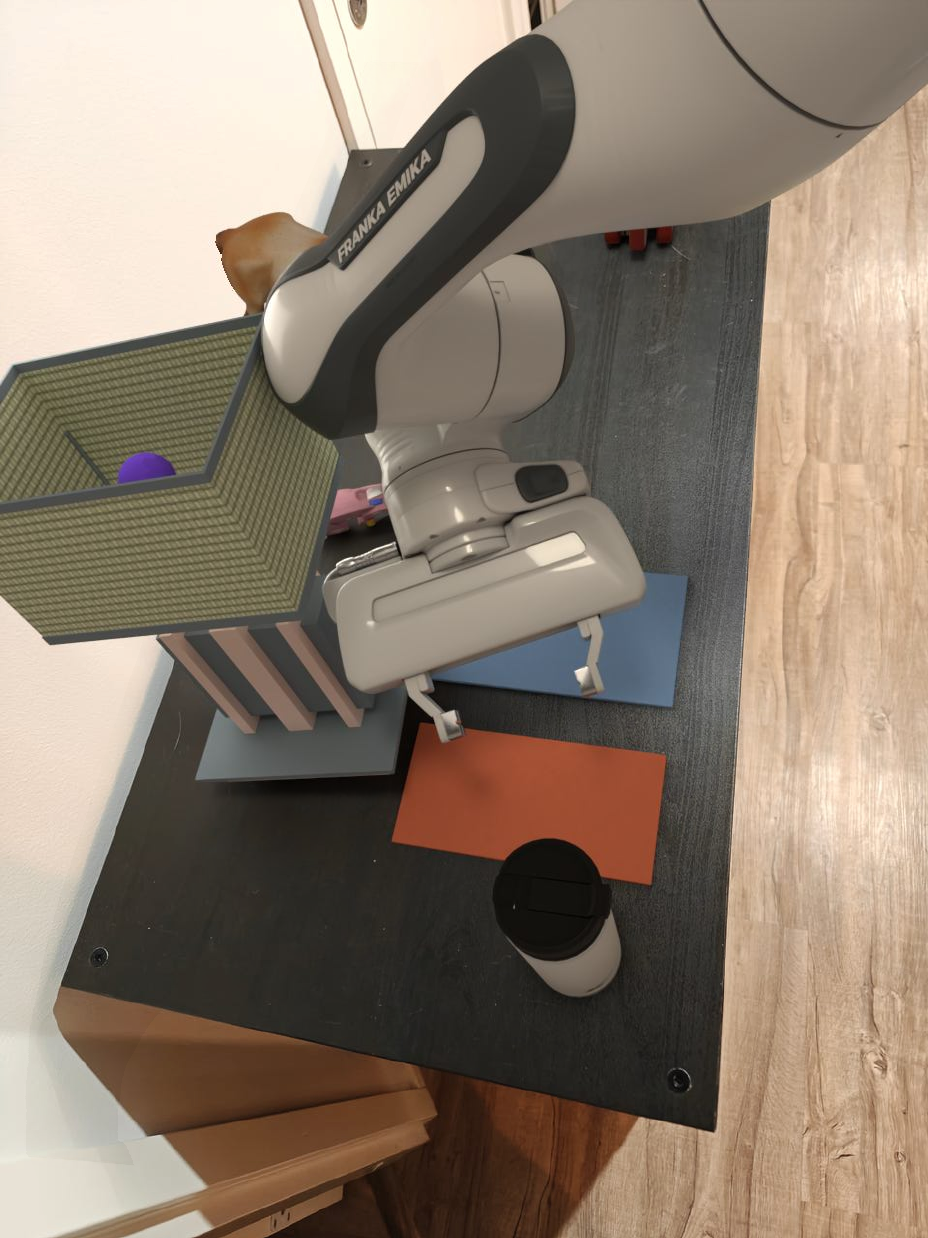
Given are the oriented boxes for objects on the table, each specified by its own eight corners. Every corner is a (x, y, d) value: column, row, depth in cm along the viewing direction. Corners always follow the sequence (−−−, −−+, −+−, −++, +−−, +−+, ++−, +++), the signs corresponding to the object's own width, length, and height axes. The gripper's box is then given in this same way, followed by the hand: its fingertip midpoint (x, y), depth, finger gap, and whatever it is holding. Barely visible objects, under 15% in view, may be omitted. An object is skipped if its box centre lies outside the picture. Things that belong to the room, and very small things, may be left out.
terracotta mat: (666, 756, 73) (666, 754, 73) (651, 886, 69) (651, 885, 68) (421, 724, 78) (420, 722, 78) (392, 842, 74) (391, 841, 74)
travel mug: (621, 1005, 65) (604, 963, 48) (528, 990, 67) (478, 943, 50) (630, 913, 68) (617, 842, 51) (540, 900, 70) (497, 827, 52)
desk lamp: (201, 795, 77) (-87, 520, 52) (244, 653, 85) (13, 360, 61) (413, 786, 72) (202, 476, 47) (436, 636, 80) (267, 308, 56)
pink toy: (312, 552, 90) (294, 544, 83) (299, 507, 91) (280, 494, 84) (410, 522, 90) (401, 511, 83) (397, 476, 90) (386, 461, 83)
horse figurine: (501, 368, 95) (463, 192, 77) (468, 427, 92) (420, 259, 74) (253, 308, 106) (169, 143, 88) (217, 359, 103) (122, 199, 85)
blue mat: (688, 578, 80) (688, 575, 80) (672, 709, 75) (672, 707, 74) (461, 559, 85) (460, 556, 85) (431, 680, 80) (430, 678, 80)
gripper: (300, 560, 61) (359, 767, 58) (603, 453, 59) (678, 663, 56) (329, 578, 67) (383, 766, 65) (605, 481, 65) (672, 672, 62)
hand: (523, 717), depth 60 cm, fingers open, 8 cm apart
